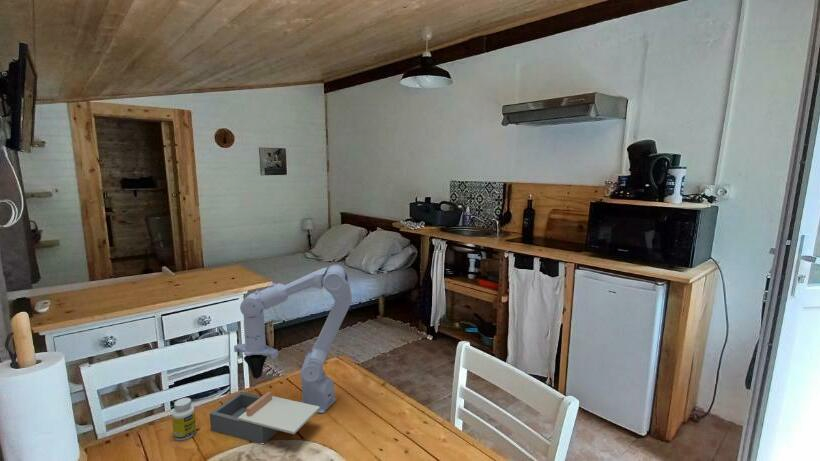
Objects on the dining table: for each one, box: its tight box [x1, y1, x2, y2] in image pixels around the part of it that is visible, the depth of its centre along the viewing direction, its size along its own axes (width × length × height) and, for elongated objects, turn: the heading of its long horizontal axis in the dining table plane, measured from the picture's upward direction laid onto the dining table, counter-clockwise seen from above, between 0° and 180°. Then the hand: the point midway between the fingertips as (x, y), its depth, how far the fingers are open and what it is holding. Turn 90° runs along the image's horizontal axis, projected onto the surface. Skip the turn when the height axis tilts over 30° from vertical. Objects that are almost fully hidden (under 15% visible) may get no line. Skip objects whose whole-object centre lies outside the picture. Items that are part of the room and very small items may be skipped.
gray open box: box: [209, 391, 280, 444], centre depth 115 cm, size 18×12×5 cm, turn 70°
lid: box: [238, 391, 320, 435], centre depth 111 cm, size 18×12×3 cm, turn 70°
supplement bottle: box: [171, 397, 197, 441], centre depth 110 cm, size 5×5×10 cm
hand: (257, 376), depth 122 cm, fingers closed
